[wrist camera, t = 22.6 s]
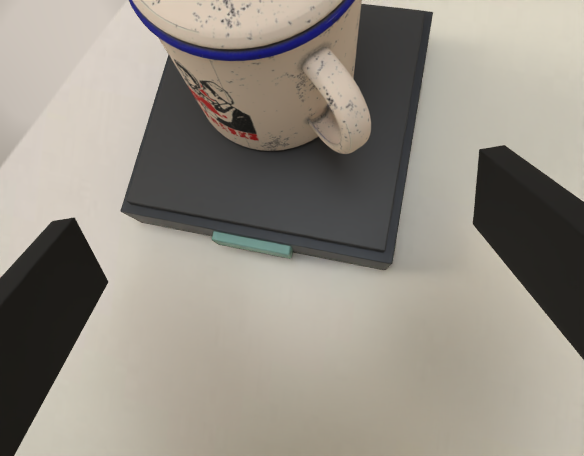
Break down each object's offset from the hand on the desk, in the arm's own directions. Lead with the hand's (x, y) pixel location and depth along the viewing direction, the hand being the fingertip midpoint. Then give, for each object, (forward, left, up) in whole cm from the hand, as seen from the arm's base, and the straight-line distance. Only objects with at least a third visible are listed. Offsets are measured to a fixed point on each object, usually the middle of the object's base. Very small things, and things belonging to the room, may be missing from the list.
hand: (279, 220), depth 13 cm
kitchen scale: (-3, +8, -10) cm, 13 cm away
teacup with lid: (-2, +8, -7) cm, 11 cm away
